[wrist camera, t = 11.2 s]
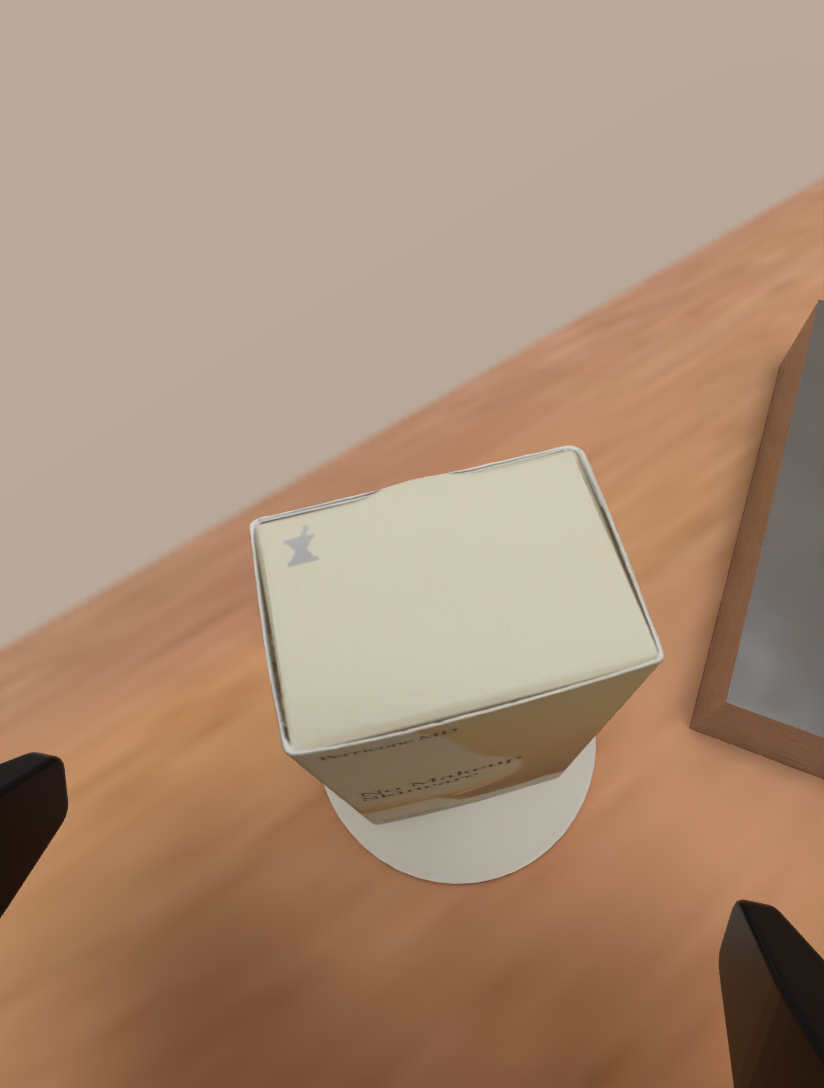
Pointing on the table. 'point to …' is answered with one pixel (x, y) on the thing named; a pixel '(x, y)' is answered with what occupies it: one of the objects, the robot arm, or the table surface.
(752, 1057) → the robot arm
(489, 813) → the coaster
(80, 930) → the table surface
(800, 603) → the socket block
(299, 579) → the skincare box
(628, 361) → the table surface
